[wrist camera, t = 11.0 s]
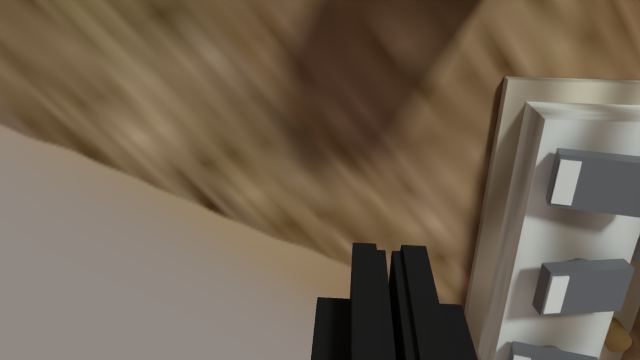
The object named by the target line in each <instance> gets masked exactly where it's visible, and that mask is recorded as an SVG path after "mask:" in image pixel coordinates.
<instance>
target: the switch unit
mask: <svg viewBox="0 0 640 360" xmlns="http://www.w3.org/2000/svg"><path fill="white" fill-rule="evenodd" d="M557 148H564V149H574V150H583V151H593V152H604V153H613V154H623V155H633V156H640V81H636V80H604V79H573V78H541V77H509V76H505V77H504V82H503V88H502V94H501V100H500V106H499V111H498V117H497V123H496V129H495V135H494V141H493V146H492V152H491V158H490V164H489V170H488V176H487V181H486V187H485V193H484V199H483V205H482V211H481V216H480V222H479V228H478V234H477V240H476V246H475V251H474V257H473V263H472V269H471V275H470V281H469V286H468V292H467V298H466V304H465V310H464V314H465V317H466V321H467V324H468V328H469V331H470V334H471V338H472V341H473V345H474V348H475V351H476V355H477V358H478V360H508V358H509V354H510V349H511V345H512V341H516V342H521V343H526V344H532V345H537V346H542V347H545V346H547V345H553V346H556V347H558V348H560V349H561V350H562V351H568V352H573V353H578V354H583V355H588V356H593V357H597V358H598V360H621V358H622V356H623V353H624V351H625V350H627V349H628V348H629V347H630V346H631V344H632V339H631V337H630V333H631V330H632V327H633V324H634V321H635V319H636V316H637V313H638V310H639V307H640V218H638V217H630V216H622V215H614V214H606V213H599V212H591V211H583V210H575V209H567V208H559V207H551V206H548V205H547V201H546V194H547V189H548V185H549V180H550V176H551V172H552V167H553V163H554V159H555V154H556V150H557ZM575 258H582V259H586V260H604V259H625V260H626V261H627V262H628V263H629V264H630V265H631V266H633V267H634V268H635V270H634V273H633V276H632V279H631V282H630V285H629V288H628V290H627V293H626V296H625V299H624V302H623V305H622V308H621V311H611V312H595V313H580V314H564V315H549V316H540V315H539V314H538V312H537V311H536V310H535V308H534V307H533V306H532V302H533V298H534V294H535V290H536V286H537V282H538V277H539V273H540V269H541V265H542V263H547V262H566V261H572V260H573V259H575Z"/></svg>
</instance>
